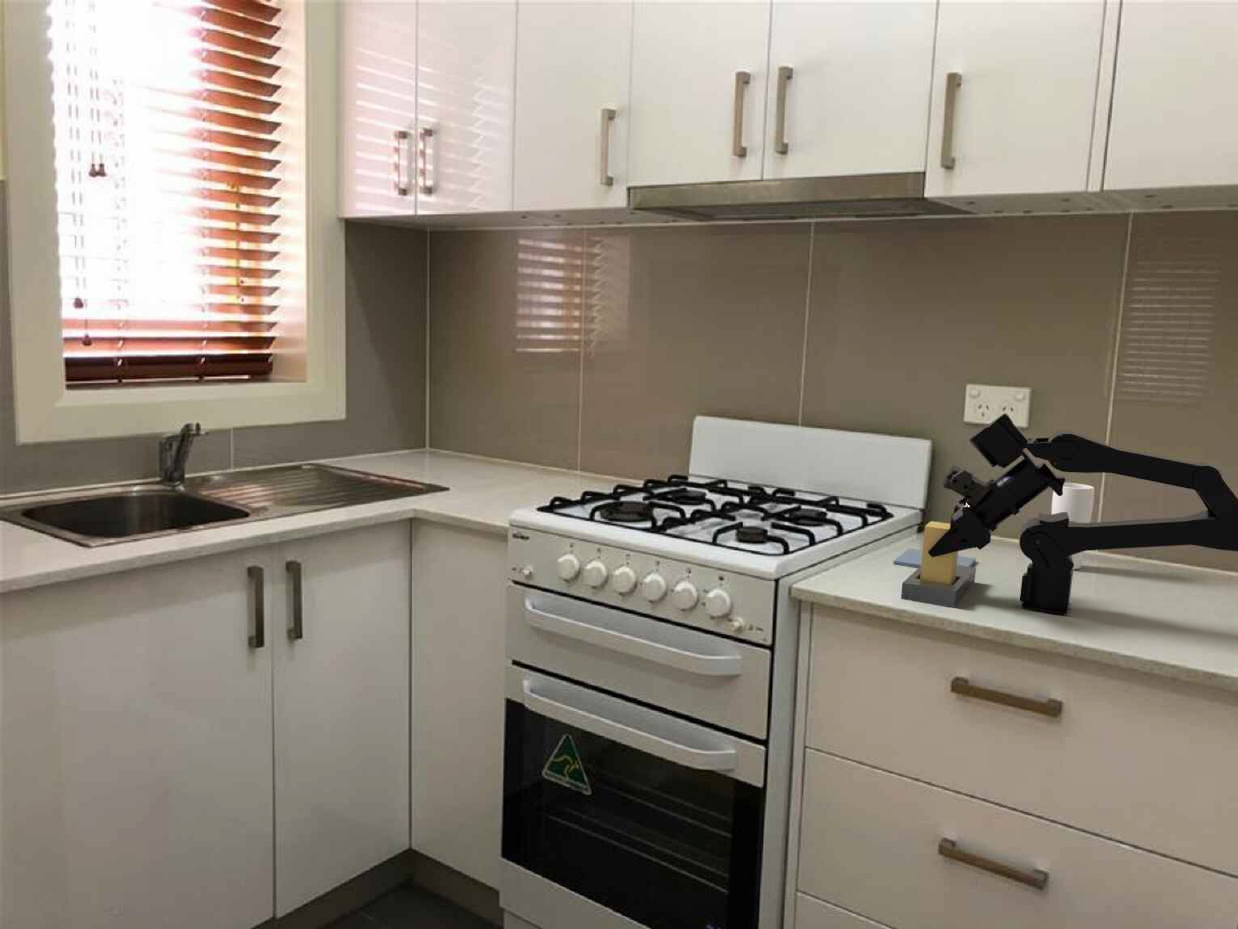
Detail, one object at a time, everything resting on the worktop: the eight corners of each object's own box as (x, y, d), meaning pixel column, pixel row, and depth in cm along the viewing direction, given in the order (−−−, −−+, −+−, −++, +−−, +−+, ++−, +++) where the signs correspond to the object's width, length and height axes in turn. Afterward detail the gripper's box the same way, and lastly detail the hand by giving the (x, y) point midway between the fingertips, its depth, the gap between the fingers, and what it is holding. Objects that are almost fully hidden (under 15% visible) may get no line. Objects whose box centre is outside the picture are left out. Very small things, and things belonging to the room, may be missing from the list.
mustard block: (954, 591, 159) (960, 525, 157) (948, 598, 155) (955, 530, 153) (925, 587, 161) (931, 521, 160) (918, 593, 157) (924, 526, 156)
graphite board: (974, 582, 166) (976, 567, 166) (954, 607, 150) (955, 591, 150) (925, 574, 170) (927, 560, 169) (901, 598, 154) (902, 582, 154)
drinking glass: (1043, 567, 179) (1052, 485, 177) (1046, 560, 185) (1055, 480, 182) (1084, 573, 176) (1094, 490, 173) (1086, 565, 182) (1096, 485, 179)
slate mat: (975, 561, 181) (975, 558, 181) (963, 575, 171) (963, 571, 170) (908, 551, 187) (909, 548, 187) (893, 563, 176) (893, 560, 176)
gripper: (979, 444, 162) (903, 503, 168) (974, 457, 145) (890, 522, 150) (1026, 496, 160) (948, 554, 166) (1026, 516, 143) (939, 580, 149)
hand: (931, 551), depth 158 cm, fingers closed on mustard block, 5 cm apart
